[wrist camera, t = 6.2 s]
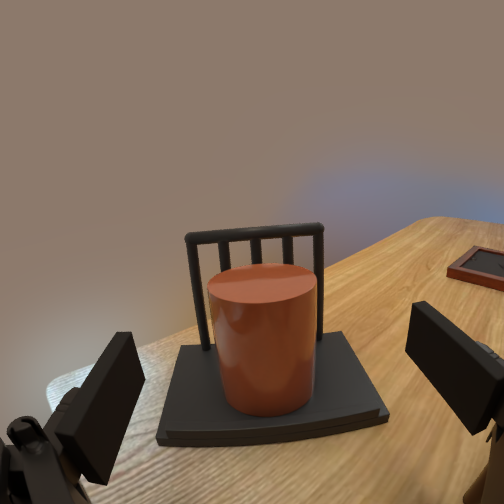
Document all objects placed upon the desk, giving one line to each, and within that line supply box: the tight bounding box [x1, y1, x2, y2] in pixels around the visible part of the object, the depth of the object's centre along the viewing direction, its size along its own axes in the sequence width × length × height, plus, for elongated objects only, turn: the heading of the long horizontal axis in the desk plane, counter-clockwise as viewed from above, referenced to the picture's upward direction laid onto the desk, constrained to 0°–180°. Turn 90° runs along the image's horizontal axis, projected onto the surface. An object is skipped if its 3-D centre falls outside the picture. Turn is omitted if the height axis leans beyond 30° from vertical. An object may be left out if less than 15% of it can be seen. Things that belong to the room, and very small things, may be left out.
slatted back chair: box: [156, 222, 390, 447], centre depth 25 cm, size 18×14×14 cm
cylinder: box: [207, 263, 317, 417], centre depth 24 cm, size 8×8×10 cm
